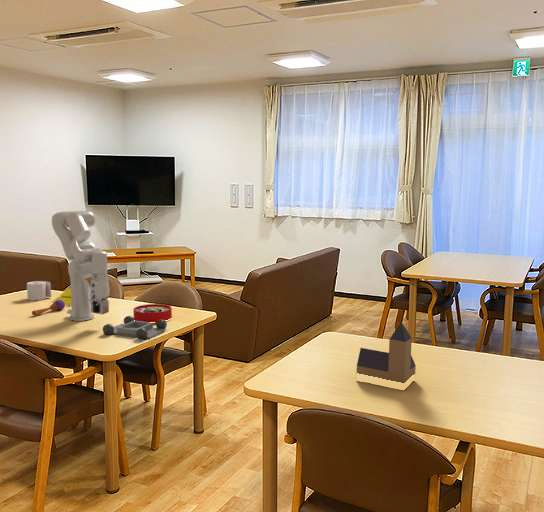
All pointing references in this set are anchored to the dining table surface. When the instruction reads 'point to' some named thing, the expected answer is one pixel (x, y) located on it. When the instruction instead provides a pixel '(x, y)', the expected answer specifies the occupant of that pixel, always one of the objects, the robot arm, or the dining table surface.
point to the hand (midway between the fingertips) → (99, 310)
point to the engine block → (102, 306)
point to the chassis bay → (136, 328)
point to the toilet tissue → (38, 290)
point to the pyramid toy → (65, 297)
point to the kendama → (55, 306)
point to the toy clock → (152, 312)
